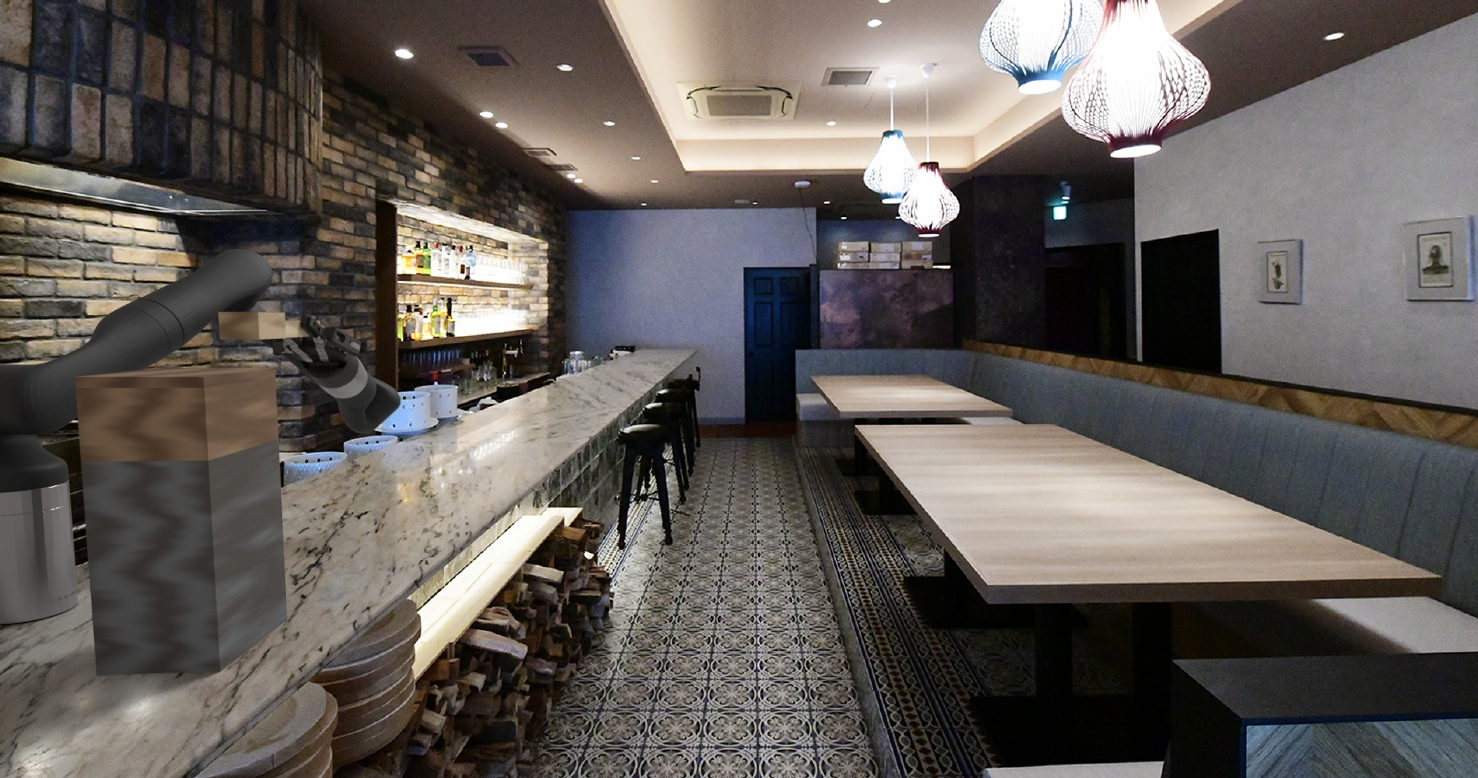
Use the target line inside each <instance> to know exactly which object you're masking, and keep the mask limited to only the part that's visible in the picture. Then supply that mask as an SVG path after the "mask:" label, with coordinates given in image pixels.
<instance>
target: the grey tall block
mask: <svg viewBox="0 0 1478 778" xmlns="http://www.w3.org/2000/svg"><path fill="white" fill-rule="evenodd" d="M276 380H277V377H276V368H275V367H162V368H152V369H151V368H150V369H144V370H139V371H129V372H119V373H109V374H98V375H88V376H78V377H75V385H76V399H77V413H78V417H77V424H78V425H77V426H78V437H79V438H78V439H79V453H80V464H81V465H80V466H81V479H82V480H81V481H82V494H83V506H84V508H83V509H84V521H85V535H86V536H85V537H86V547H87V549H86V550H87V561H88V574H89V575H88V577H89V590H90V603H91V604H90V605H91V606H90V607H91V619H92V631H93V633H92V634H93V644H94V647H93V648H94V657H95V658H94V659H95V670H96V672H95V673H96V676H113V675H114V676H116V675H117V676H118V675H146V674H147V675H149V674H173V673H174V674H175V673H176V674H178V673H179V674H180V673H205V672H206V673H208V672H209V673H210V672H222V671H223V670H224V669H225V668H227V667H228V666H230V664H232V663H233V662H234V661H236V660H237V659H238V658H239V657H241V656H242V655H243V654H245V652H247V651H248V650H250V649H251V648H252V647H254V646H255V645H256V644H258V642H260V641H261V640H262V639H264V638H265V637H266V636H267V635H269V634H270V633H271V632H273V630H275V629H276V628H278V627H279V626H280V625H282V624H283V623H285V622H286V621H287V620H288V608H287V607H288V605H287V589H286V588H287V587H286V586H287V585H286V566H285V565H286V564H285V563H286V562H285V547H284V545H285V544H284V543H285V541H284V525H283V524H284V523H283V522H284V521H283V520H284V519H283V503H282V485H281V480H282V479H281V463H280V460H281V459H280V443H279V441H280V440H279V419H278V402H277V401H278V400H277V397H278V396H277V381H276Z"/></svg>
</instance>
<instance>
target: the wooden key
mask: <svg viewBox="0 0 1478 778" xmlns="http://www.w3.org/2000/svg"><path fill="white" fill-rule="evenodd" d="M217 316H218V328H219V339H220V340H255V341H256V340H258V341H260V339H279V338H289V337H308V336H309V335H308V334H307V333H306V332H305V331H304V329H303V328H302V327H301V325H300V323H301V321H300V320H290V321H285V316H286V312H272V311H271V312H270V311H269V312H267V311H266V312H218V315H217ZM316 321H317V322H318V323H319V325H321V321H320V320H316Z"/></svg>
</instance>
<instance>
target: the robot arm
mask: <svg viewBox="0 0 1478 778" xmlns="http://www.w3.org/2000/svg"><path fill="white" fill-rule="evenodd" d="M273 276H274V275H273V270H272V267H271V264H270V263H269V262H268V260H267V259H266V258H265V257H263V256H262V255H261V254H260V253H257V252H255V251H253V250H250V249H244V248H233V249H232V248H231V249H228V250H225V251H222V252H221V253H219V254H218V255H216V256H215V257H214V258H213V259H211V260H210V261H208V262H207V263H206V264H204V265H202V266H201V267H199V268H198V269H196V270H194V272H192V273H190V274H188V275H187V276H185V277H181V278H180V279H177V280H175V281H172V282H170V283H168V284H166V285H163V286H162V287H159V288H158V289H156V290H153V291H151V292H150V293H147V294H146V295H143V296H141V297H139V298H136V299H134V300H132V301H130V302H128V303H127V304H124V305H122V306H120V307H118V308H116V309H114V310H113V311H111V312H109V313H108V314H106V315H105V316H104V317H103V318H102V319H101V320H99V322H98V323H97V325H96V326H95V328H94V330H93V331H92V334H91V337H90V339H89V340H88V341H87V342H86V343H84V345H82V346H80V347H78V348H75V349H74V350H72V351H70V352H68V353H66V354H64V355H62V356H59V357H57V358H55V359H52V360H49V361H45V362H41V363H35V364H15V363H14V364H9V363H8V364H7V363H4V364H2V363H1V364H0V625H3V624H4V625H6V624H16V623H17V624H18V623H23V622H30V621H35V620H41V619H45V618H49V617H51V616H55V615H58V614H62V613H64V612H66V611H68V610H71V609H72V608H74V607H75V606H77V605H78V603H79V600H78V599H79V597H78V586H77V585H78V584H77V569H76V558H75V557H76V556H75V555H76V554H75V545H74V531H73V516H72V506H71V505H72V504H71V492H70V478H69V476H70V475H69V467H68V466H69V465H68V463H67V462H66V461H65V460H64V459H63V458H61V457H59V456H57V455H55V454H53V453H51V452H49V451H48V450H47V449H46V448H45V447H43V446H42V444H41V443H40V442H39V439H38V435H46V434H49V433H53V432H56V431H58V430H60V429H62V428H64V427H65V426H67V425H69V424H70V423H72V422H73V421H74V420H77V419H78V413H77V399H76V385H75V377H78V376H88V375H98V374H109V373H119V372H129V371H139V370H147V369H148V368H150V367H151V366H152V365H154V364H156V363H158V362H160V361H162V360H163V359H165V358H166V357H168V356H169V355H172V354H173V353H174V352H176V351H178V350H180V349H181V348H182V347H184V346H185V345H186V344H187V343H189V342H190V341H191V340H193V339H194V338H195V337H196V336H197V335H199V334H200V333H201V332H202V331H203V330H204V329H206V328H207V326H208V325H210V324H211V322H212V321H213V320H215V318H216V317H217V316H219V315H218V312H267V311H266V310H265V309H264V308H263V307H262V306H261V305H260V303H258V302H259V300H261V299H262V297H263V296H264V295H265V293H266V292H267V291H268V290H269V288H270V287H271V284H272V282H273V278H274V277H273ZM285 321H291V320H290V319H289V318H288V317H287V316H286V315H285ZM299 321H301V323H300V325H301V327H302V328H303V329H304V331H305V332H306V333H307V334H308V335H309V336H308V337H289V338H279V339H260V340H259V342H261V343H263V344H264V345H265V346H267V347H269V348H271V349H272V355H273V356H277V357H281V356H282V357H283V358H284V359H287V361H288V362H290V363H291V364H292V365H293V366H294V367H296V368H297V369H298V370H299V371H300V372H302V374H304V375H305V376H306V377H308V379H309V380H310V381H312V382H313V383H314V384H315V385H316V386H317V387H318V388H320V389H321V390H322V391H323V392H324V393H326V394H329V395H331V397H333V399H335V400H336V402H337V407H338V410H339V414H340V416H341V419H342V421H343V423H345V425H346V426H347V427H348V428H349V430H351V431H353V432H355V433H357V434H360V435H363V434H364V435H366V434H367V435H368V434H370V433H372V432H374V431H375V430H376V429H377V428H378V427H380V425H382V424H383V423H384V422H385V421H386V420H388V418H390V417H391V416H392V415H393V414H394V413H395V412H396V411H397V410H398V409H399V407H400V406H401V402H402V401H401V396H400V394H399V392H398V391H397V390H396V389H395V388H394V387H392V386H391V385H389V384H387V383H386V382H384V381H382V380H380V379H378V378H376V377H374V376H372V375H370V374H369V372H368V371H367V370H366V369H365V367H364V365H363V363H362V361H361V360H360V359H359V358H358V356H359V354H360V349H361V344H362V343H361V342H362V341H361V340H359V339H357V338H355V337H354V336H352V335H350V334H349V333H347V332H345V331H343V330H342V329H339V328H338V327H336V326H330V327H329V328H327V327H325V325H323V324H320V325H319V323H318V322H317V321H318V320H316V319H315V318H314V317H312V316H310V314H309V313H302V314H301V316H300V319H299ZM337 336H338V339H337Z"/></svg>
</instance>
